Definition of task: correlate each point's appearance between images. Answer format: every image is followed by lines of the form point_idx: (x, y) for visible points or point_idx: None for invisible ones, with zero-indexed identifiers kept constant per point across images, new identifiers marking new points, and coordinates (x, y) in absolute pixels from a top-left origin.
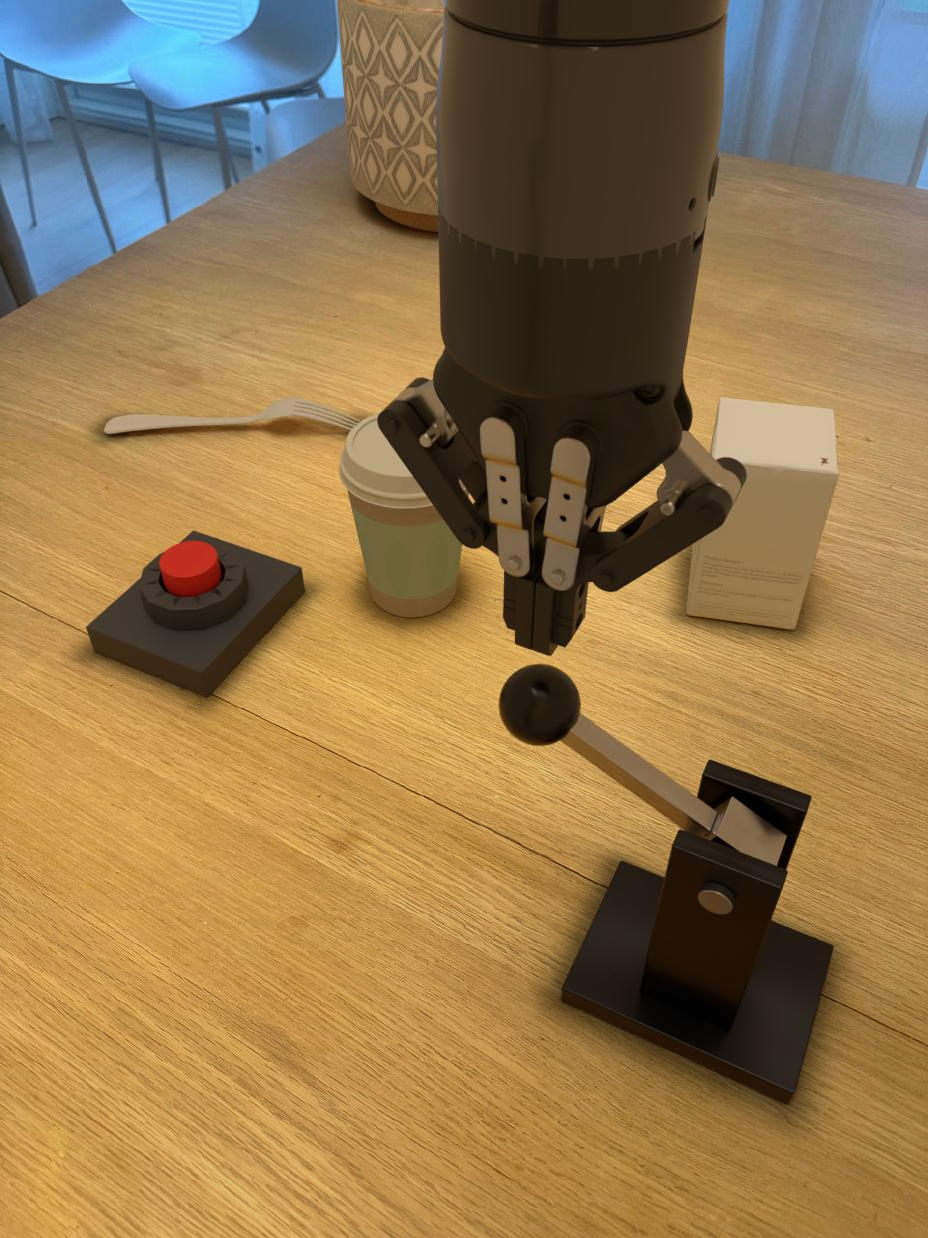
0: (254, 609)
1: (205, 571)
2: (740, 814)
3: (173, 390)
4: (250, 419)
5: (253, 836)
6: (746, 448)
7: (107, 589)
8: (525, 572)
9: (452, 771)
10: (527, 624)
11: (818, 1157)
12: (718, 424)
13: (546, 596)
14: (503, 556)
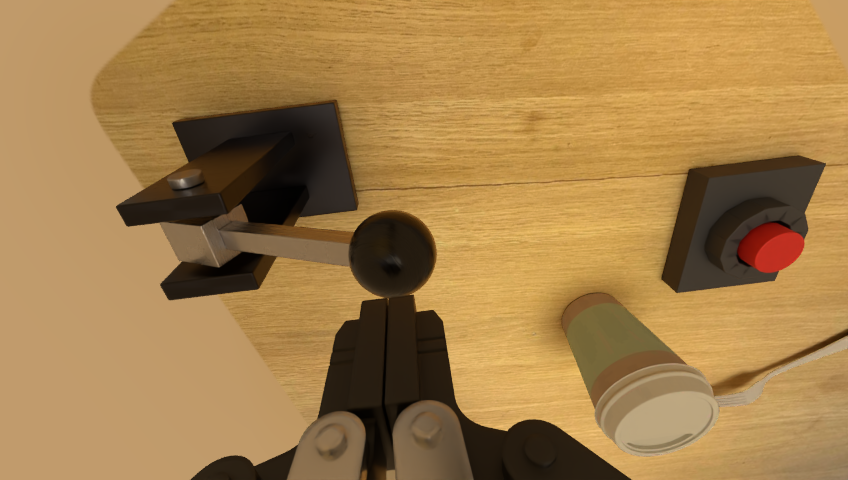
0: (694, 246)
1: (759, 250)
2: (205, 256)
3: (836, 371)
4: (769, 375)
5: (597, 86)
6: None
7: (812, 207)
8: (401, 419)
9: (493, 211)
10: (394, 327)
11: (146, 98)
12: None
13: (362, 387)
14: (451, 434)
